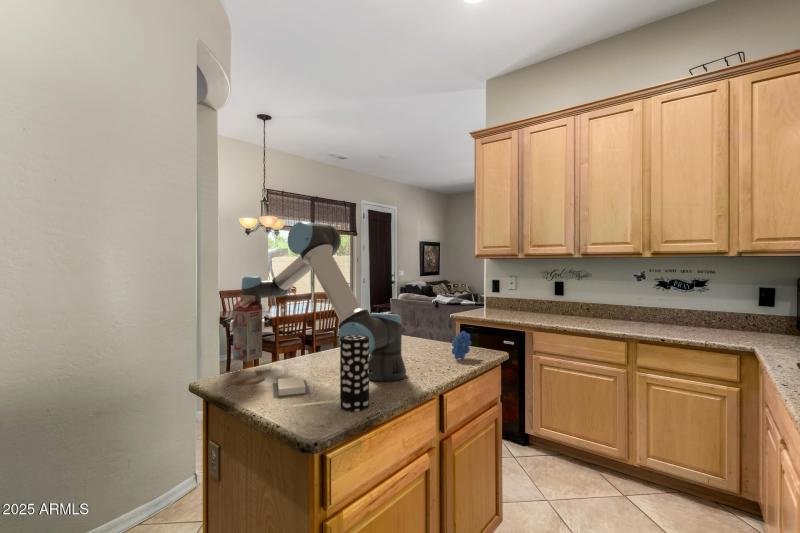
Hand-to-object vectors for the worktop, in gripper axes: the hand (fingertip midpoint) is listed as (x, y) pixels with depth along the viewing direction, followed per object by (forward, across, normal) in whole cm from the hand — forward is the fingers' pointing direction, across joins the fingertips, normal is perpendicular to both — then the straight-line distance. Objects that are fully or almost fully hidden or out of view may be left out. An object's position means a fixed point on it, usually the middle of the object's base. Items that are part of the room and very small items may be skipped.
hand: (247, 326), depth 130 cm
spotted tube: (+30, -31, -20) cm, 47 cm away
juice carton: (-4, 0, -12) cm, 13 cm away
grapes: (-11, -86, -20) cm, 89 cm away
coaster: (-4, 0, -20) cm, 21 cm away
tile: (+5, -14, -18) cm, 24 cm away
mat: (+10, -14, -20) cm, 26 cm away
